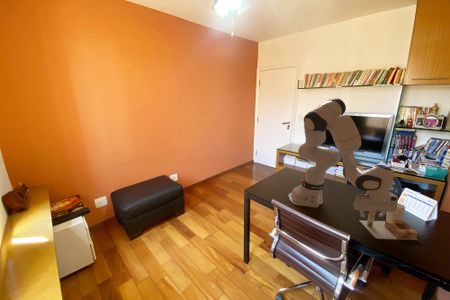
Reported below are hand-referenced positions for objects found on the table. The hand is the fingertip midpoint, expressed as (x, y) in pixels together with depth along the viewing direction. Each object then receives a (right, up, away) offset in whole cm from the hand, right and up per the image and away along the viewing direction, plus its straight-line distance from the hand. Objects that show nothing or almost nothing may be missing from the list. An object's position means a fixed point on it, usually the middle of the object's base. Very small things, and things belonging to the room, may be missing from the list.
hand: (371, 216), depth 103 cm
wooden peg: (0, -5, +2) cm, 6 cm away
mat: (+7, -7, -1) cm, 10 cm away
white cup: (+16, -5, +5) cm, 18 cm away
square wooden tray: (+12, -7, -4) cm, 14 cm away
